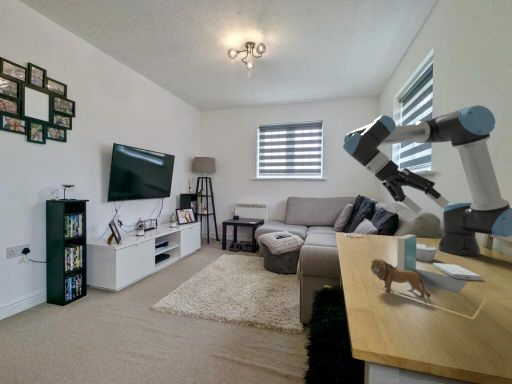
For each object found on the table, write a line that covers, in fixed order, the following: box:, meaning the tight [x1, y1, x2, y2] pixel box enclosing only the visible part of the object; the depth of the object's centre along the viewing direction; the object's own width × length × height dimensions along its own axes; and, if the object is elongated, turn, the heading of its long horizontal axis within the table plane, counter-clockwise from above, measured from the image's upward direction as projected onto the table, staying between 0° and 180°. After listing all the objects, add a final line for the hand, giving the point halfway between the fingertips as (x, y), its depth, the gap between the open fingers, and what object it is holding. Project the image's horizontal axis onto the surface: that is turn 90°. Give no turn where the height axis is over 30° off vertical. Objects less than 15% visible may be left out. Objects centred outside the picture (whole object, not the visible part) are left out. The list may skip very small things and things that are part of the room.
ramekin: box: [416, 243, 437, 262], centre depth 101 cm, size 11×11×5 cm
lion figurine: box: [370, 258, 431, 299], centre depth 67 cm, size 15×5×9 cm, turn 68°
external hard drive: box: [432, 262, 483, 282], centre depth 82 cm, size 2×8×12 cm
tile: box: [396, 233, 417, 271], centre depth 82 cm, size 10×2×12 cm, turn 129°
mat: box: [393, 265, 469, 294], centre depth 78 cm, size 14×20×1 cm
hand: (431, 208), depth 81 cm, fingers open, 13 cm apart
